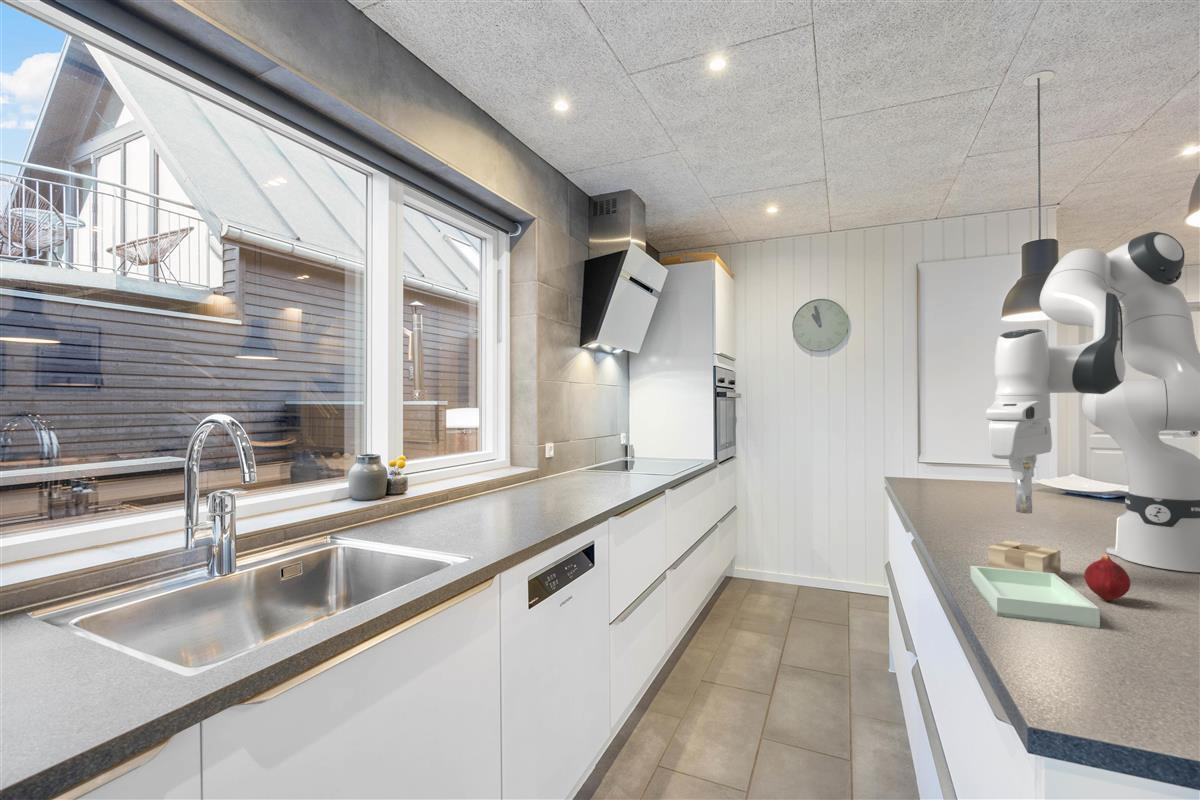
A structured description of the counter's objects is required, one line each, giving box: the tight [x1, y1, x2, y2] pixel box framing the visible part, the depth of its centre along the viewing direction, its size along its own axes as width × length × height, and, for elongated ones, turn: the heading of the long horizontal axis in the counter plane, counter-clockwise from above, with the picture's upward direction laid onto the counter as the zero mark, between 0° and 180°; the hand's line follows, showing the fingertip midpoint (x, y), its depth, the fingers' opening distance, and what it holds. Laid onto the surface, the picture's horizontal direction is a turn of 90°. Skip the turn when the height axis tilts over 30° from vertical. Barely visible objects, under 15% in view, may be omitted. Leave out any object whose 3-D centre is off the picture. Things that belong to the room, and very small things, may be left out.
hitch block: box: [987, 540, 1062, 577], centre depth 108 cm, size 9×9×5 cm
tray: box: [970, 565, 1101, 629], centre depth 93 cm, size 18×13×3 cm
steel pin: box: [1014, 462, 1033, 515], centre depth 108 cm, size 3×3×10 cm
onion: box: [1083, 553, 1132, 602], centre depth 93 cm, size 6×6×8 cm
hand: (1023, 478), depth 108 cm, fingers closed on steel pin, 3 cm apart
